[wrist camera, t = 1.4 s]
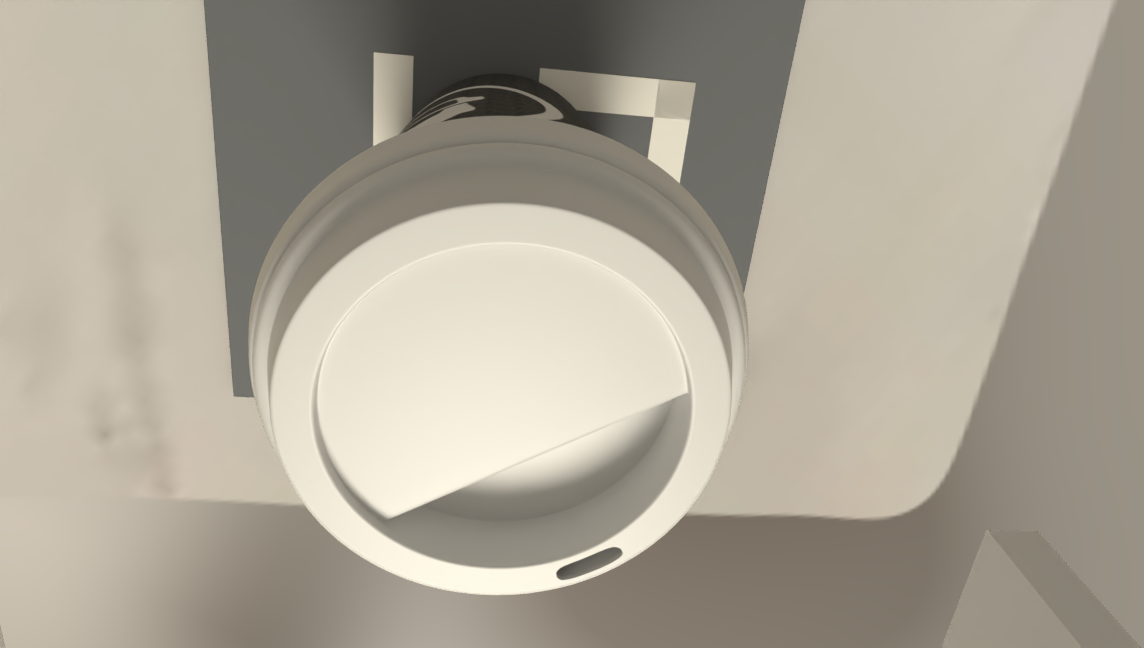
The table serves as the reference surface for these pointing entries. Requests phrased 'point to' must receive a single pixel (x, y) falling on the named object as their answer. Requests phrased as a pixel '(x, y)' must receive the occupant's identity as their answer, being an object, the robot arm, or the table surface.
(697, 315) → the coffee cup
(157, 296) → the table surface
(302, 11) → the mat
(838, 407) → the table surface
